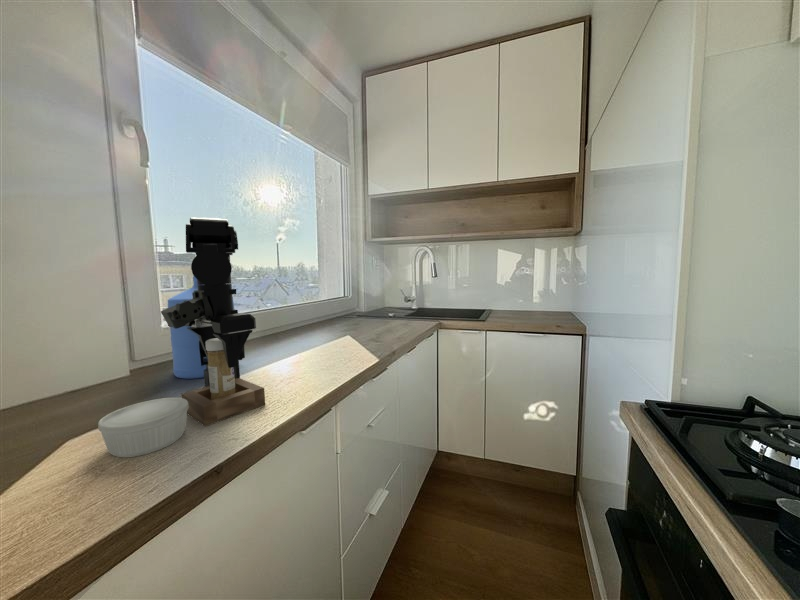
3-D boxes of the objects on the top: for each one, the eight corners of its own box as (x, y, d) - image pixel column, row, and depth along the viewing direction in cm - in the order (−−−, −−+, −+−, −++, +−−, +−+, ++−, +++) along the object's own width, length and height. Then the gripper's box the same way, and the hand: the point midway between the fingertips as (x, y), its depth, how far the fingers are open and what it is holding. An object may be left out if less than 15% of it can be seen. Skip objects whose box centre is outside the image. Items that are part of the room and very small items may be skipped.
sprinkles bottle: (238, 406, 61) (232, 339, 60) (211, 412, 59) (205, 342, 58) (235, 398, 65) (231, 335, 64) (210, 404, 63) (205, 338, 62)
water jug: (250, 366, 91) (243, 270, 89) (191, 383, 77) (181, 270, 75) (220, 360, 99) (213, 272, 97) (162, 374, 86) (153, 272, 83)
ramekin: (127, 431, 54) (124, 401, 53) (200, 421, 57) (198, 393, 56) (81, 469, 43) (77, 433, 43) (174, 454, 46) (171, 420, 46)
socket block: (239, 393, 70) (238, 377, 69) (265, 404, 63) (264, 387, 63) (182, 410, 61) (181, 393, 61) (205, 426, 54) (203, 407, 54)
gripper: (148, 286, 60) (156, 366, 61) (183, 286, 48) (192, 385, 49) (212, 284, 68) (217, 353, 70) (254, 283, 57) (260, 367, 58)
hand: (221, 363), depth 61 cm, fingers open, 9 cm apart
